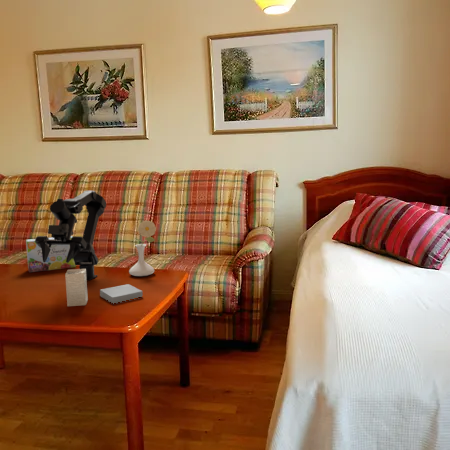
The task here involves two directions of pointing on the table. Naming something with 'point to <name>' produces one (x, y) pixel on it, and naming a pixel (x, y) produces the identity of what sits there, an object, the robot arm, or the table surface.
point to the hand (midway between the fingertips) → (55, 262)
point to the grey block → (120, 293)
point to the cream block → (76, 287)
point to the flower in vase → (141, 266)
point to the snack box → (54, 258)
